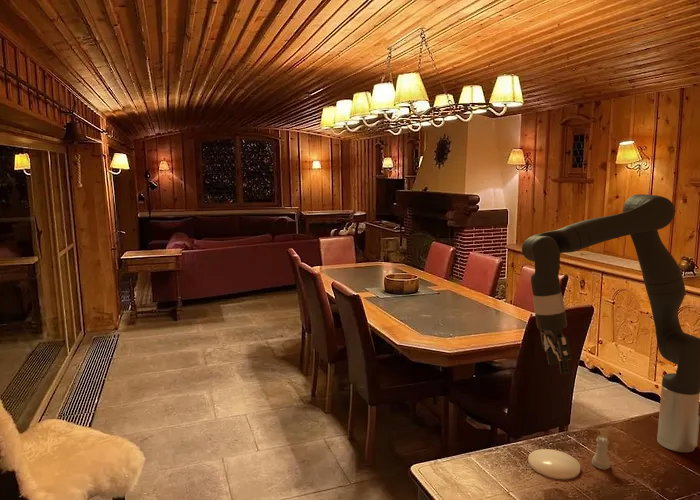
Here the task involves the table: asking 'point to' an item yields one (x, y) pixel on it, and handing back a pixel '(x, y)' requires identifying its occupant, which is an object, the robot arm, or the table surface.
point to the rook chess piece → (601, 454)
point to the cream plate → (554, 464)
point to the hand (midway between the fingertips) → (559, 369)
